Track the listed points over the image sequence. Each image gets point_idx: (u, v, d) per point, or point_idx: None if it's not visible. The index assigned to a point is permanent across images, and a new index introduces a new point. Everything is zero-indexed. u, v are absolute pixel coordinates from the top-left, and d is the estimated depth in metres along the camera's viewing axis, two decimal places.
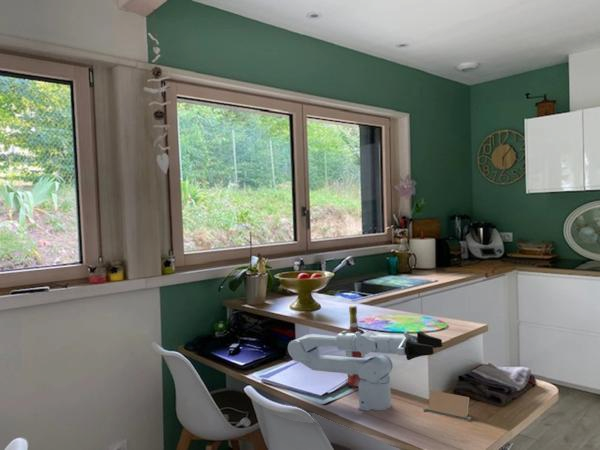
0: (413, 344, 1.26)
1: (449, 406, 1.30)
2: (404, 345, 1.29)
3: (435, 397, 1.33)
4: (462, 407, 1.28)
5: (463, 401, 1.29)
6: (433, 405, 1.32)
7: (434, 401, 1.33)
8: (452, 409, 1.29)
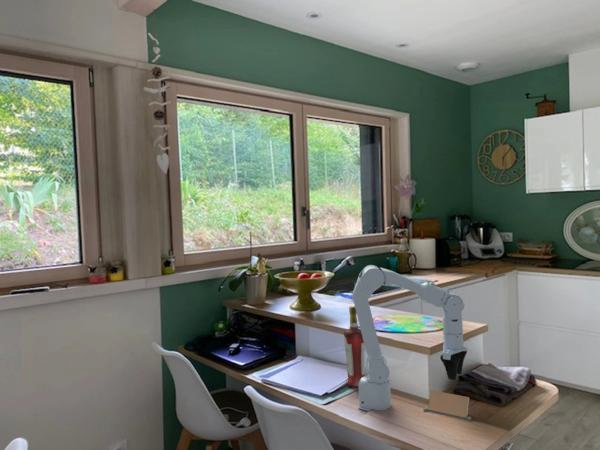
0: (455, 365, 1.32)
1: (449, 406, 1.30)
2: None
3: (435, 397, 1.33)
4: (462, 407, 1.28)
5: (463, 401, 1.29)
6: (433, 405, 1.32)
7: (434, 401, 1.33)
8: (452, 409, 1.29)
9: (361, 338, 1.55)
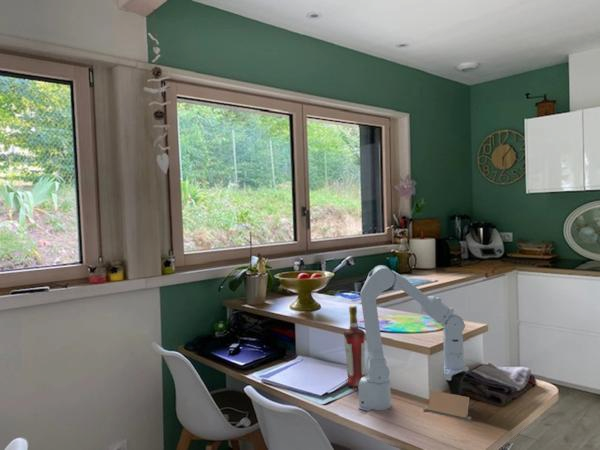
0: (459, 383, 1.34)
1: (449, 406, 1.30)
2: None
3: (435, 397, 1.33)
4: (462, 407, 1.28)
5: (463, 401, 1.29)
6: (433, 405, 1.32)
7: (434, 401, 1.33)
8: (452, 409, 1.29)
9: (361, 338, 1.55)
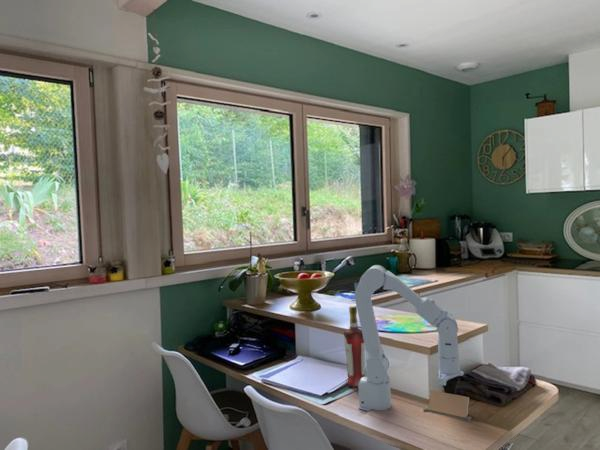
0: (454, 387, 1.31)
1: (449, 406, 1.30)
2: None
3: (435, 397, 1.33)
4: (462, 407, 1.28)
5: (463, 401, 1.29)
6: (433, 405, 1.32)
7: (434, 401, 1.33)
8: (452, 409, 1.29)
9: (361, 338, 1.55)
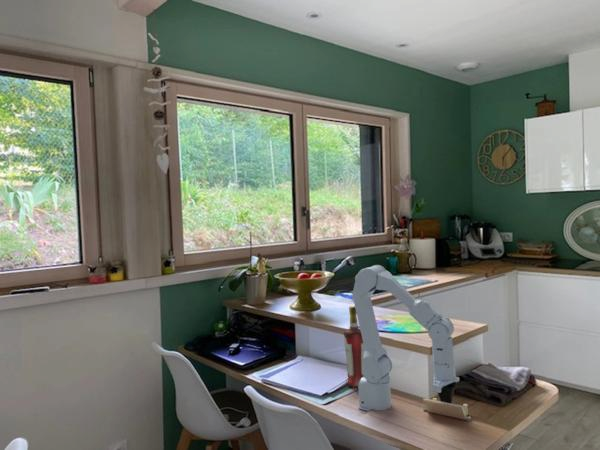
0: (450, 394, 1.26)
1: (446, 411, 1.28)
2: None
3: (429, 405, 1.29)
4: (459, 413, 1.25)
5: (458, 410, 1.24)
6: (431, 409, 1.31)
7: (430, 407, 1.30)
8: (450, 413, 1.27)
9: (361, 338, 1.55)
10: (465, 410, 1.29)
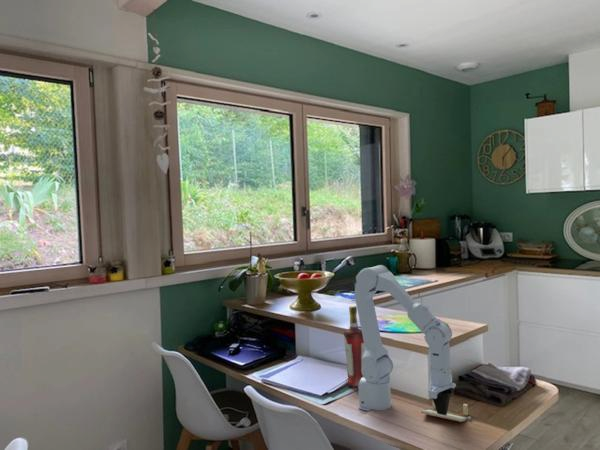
0: (445, 401, 1.23)
1: None
2: None
3: None
4: None
5: None
6: None
7: None
8: None
9: (361, 338, 1.55)
10: (465, 410, 1.29)
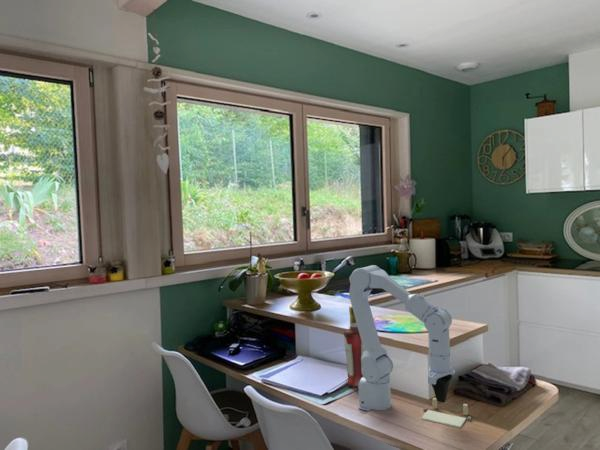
0: (444, 387, 1.24)
1: None
2: None
3: None
4: None
5: None
6: None
7: None
8: None
9: None
10: (465, 410, 1.29)
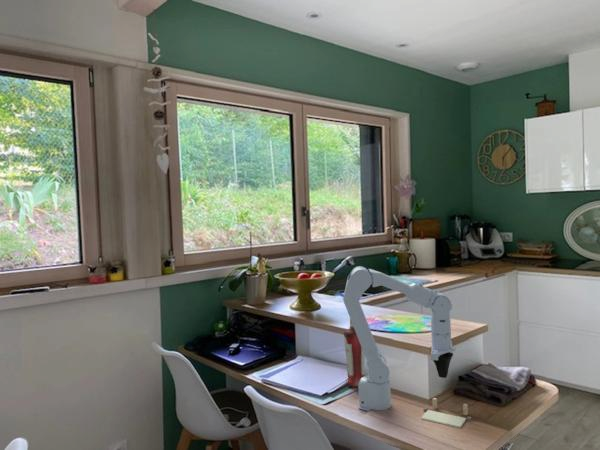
0: (446, 363, 1.34)
1: None
2: None
3: None
4: None
5: None
6: None
7: None
8: None
9: None
10: (465, 410, 1.29)
